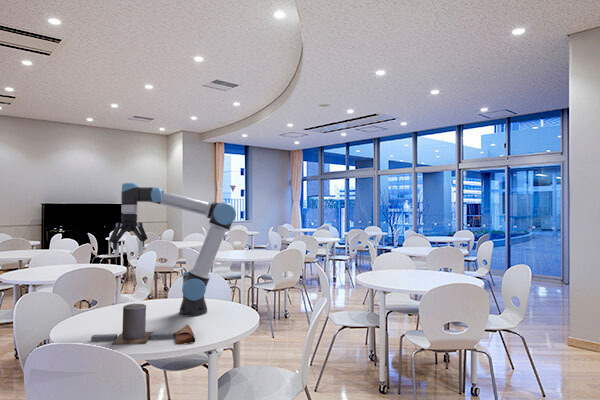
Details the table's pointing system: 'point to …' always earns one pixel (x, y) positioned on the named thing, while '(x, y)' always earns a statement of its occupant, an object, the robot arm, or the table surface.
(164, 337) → the chain ends
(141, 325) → the pillar candle
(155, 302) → the table surface
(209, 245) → the robot arm
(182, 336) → the sunglasses case
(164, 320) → the table surface
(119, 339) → the brown wooden square board
